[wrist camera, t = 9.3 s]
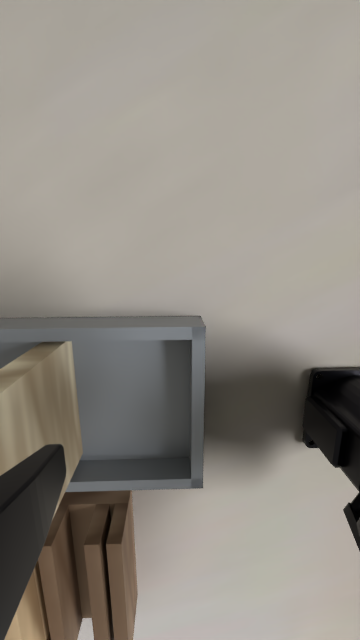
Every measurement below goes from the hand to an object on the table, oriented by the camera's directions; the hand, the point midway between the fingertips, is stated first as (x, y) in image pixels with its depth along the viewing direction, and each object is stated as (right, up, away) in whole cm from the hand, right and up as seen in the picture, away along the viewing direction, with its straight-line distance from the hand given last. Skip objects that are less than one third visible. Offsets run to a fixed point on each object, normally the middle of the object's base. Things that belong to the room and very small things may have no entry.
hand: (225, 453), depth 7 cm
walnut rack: (-11, -16, +16) cm, 25 cm away
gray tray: (-9, -2, +12) cm, 16 cm away
